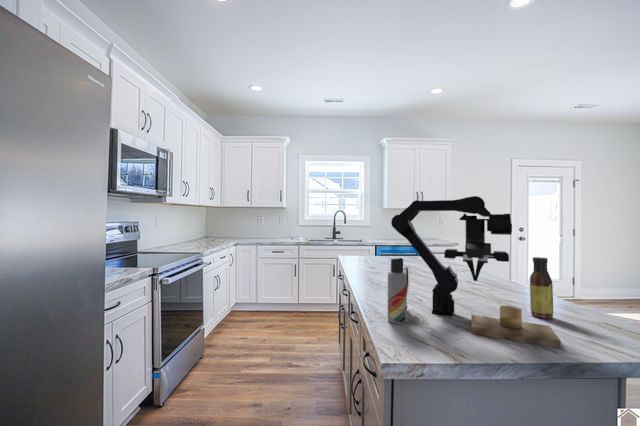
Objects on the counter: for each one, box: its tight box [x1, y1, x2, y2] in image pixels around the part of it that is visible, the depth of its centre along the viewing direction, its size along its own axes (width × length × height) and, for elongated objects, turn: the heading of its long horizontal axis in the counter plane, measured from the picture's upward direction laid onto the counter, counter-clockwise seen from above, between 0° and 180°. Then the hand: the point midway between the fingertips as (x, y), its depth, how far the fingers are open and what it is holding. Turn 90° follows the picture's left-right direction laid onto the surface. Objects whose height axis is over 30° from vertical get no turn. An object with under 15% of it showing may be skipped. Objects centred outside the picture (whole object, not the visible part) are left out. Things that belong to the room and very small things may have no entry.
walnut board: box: [470, 314, 562, 349], centre depth 84 cm, size 20×12×2 cm, turn 63°
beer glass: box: [389, 266, 411, 312], centre depth 106 cm, size 7×7×15 cm
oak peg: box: [499, 305, 523, 330], centre depth 84 cm, size 5×5×7 cm
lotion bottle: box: [387, 257, 407, 325], centre depth 93 cm, size 6×6×20 cm
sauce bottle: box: [529, 256, 554, 320], centre depth 100 cm, size 7×6×20 cm
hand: (475, 280), depth 98 cm, fingers closed
